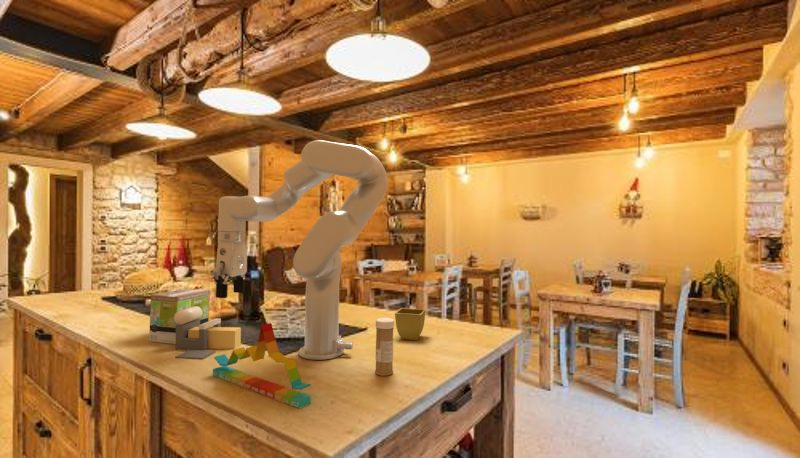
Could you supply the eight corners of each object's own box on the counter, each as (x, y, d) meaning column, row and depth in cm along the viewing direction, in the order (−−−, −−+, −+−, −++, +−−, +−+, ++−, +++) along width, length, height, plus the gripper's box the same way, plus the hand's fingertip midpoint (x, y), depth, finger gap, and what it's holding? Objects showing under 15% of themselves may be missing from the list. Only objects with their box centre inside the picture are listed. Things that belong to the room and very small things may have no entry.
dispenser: (190, 340, 125) (191, 305, 125) (221, 342, 124) (221, 306, 124) (172, 348, 116) (172, 311, 116) (204, 350, 115) (205, 312, 115)
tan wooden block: (240, 345, 121) (240, 327, 121) (234, 349, 117) (235, 330, 117) (195, 344, 122) (195, 326, 122) (188, 348, 118) (188, 329, 118)
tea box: (176, 344, 121) (177, 296, 121) (148, 342, 123) (148, 294, 123) (209, 332, 135) (210, 288, 135) (184, 330, 137) (184, 287, 137)
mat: (215, 352, 114) (215, 350, 114) (203, 359, 108) (203, 357, 108) (189, 351, 114) (189, 349, 114) (175, 357, 108) (175, 356, 108)
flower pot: (393, 340, 128) (394, 312, 128) (400, 333, 137) (400, 307, 137) (420, 342, 126) (421, 314, 126) (425, 335, 135) (425, 309, 135)
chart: (211, 377, 96) (212, 314, 96) (224, 373, 98) (224, 312, 98) (298, 410, 79) (299, 335, 79) (310, 404, 82) (311, 331, 82)
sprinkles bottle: (374, 370, 101) (375, 317, 101) (392, 369, 102) (393, 317, 102) (375, 376, 97) (376, 321, 97) (394, 376, 97) (394, 321, 97)
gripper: (228, 238, 110) (227, 300, 110) (257, 237, 127) (255, 291, 127) (202, 238, 111) (201, 299, 111) (234, 236, 128) (233, 290, 128)
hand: (230, 294), depth 119 cm, fingers open, 9 cm apart
